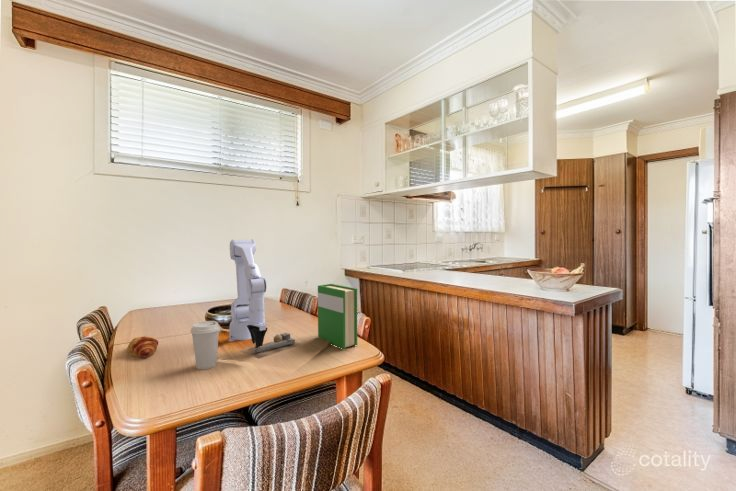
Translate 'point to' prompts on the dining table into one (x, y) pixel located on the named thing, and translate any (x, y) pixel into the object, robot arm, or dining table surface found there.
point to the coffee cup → (205, 343)
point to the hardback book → (337, 315)
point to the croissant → (142, 346)
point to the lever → (274, 345)
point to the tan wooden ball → (278, 338)
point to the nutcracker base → (271, 351)
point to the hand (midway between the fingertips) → (257, 344)
